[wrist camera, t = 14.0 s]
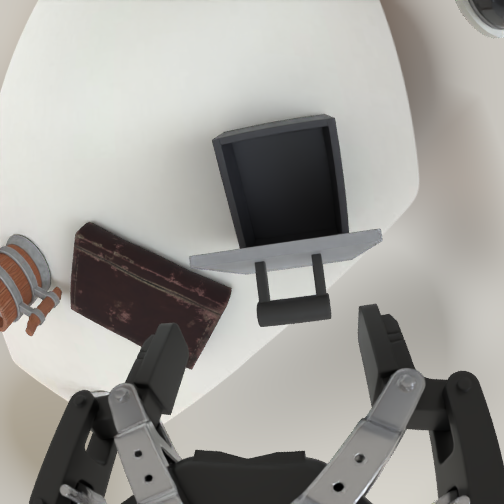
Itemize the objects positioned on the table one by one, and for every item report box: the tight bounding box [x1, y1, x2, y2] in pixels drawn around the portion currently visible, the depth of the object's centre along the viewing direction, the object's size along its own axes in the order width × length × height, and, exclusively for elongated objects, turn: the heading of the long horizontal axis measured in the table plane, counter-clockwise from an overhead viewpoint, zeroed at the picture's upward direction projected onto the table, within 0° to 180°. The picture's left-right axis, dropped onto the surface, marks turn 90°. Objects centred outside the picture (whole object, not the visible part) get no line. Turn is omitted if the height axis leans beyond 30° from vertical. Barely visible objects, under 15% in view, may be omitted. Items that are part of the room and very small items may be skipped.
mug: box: [0, 235, 62, 336], centre depth 43 cm, size 14×19×15 cm
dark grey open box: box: [212, 114, 349, 249], centre depth 35 cm, size 16×13×7 cm
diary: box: [70, 222, 231, 370], centre depth 47 cm, size 19×25×5 cm
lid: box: [190, 229, 382, 327], centre depth 27 cm, size 16×13×5 cm
